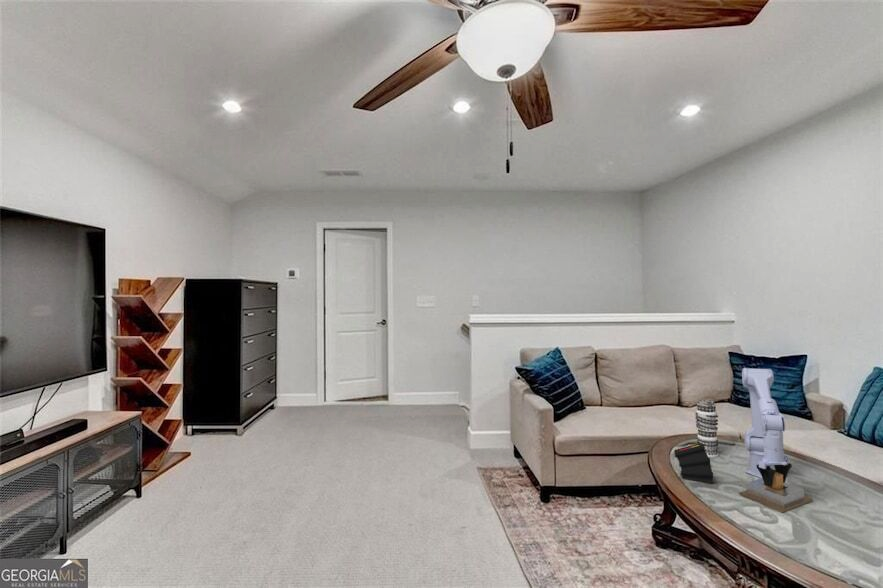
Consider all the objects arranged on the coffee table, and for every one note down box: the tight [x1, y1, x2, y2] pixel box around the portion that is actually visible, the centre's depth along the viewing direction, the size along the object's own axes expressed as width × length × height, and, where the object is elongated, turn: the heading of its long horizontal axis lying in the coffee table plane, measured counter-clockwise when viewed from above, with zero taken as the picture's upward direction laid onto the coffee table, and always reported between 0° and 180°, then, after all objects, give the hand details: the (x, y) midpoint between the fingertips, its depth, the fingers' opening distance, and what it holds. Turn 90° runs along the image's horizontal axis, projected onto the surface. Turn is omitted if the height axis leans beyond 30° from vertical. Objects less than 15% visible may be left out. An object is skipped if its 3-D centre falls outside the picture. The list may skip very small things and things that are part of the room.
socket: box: [739, 478, 814, 514], centre depth 152 cm, size 18×14×4 cm
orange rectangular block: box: [764, 472, 783, 491], centre depth 152 cm, size 4×4×8 cm
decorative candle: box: [694, 398, 720, 458], centre depth 194 cm, size 9×9×25 cm
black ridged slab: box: [673, 443, 714, 485], centre depth 168 cm, size 4×13×15 cm, turn 58°
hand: (774, 484), depth 152 cm, fingers open, 7 cm apart
